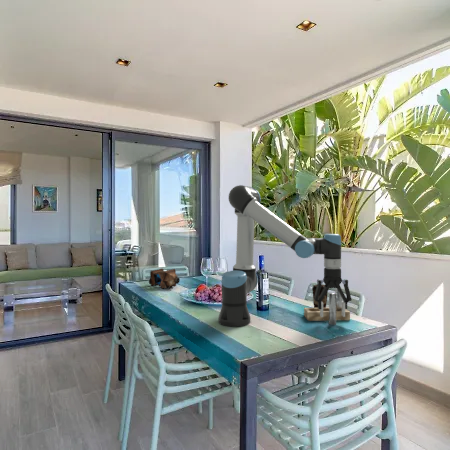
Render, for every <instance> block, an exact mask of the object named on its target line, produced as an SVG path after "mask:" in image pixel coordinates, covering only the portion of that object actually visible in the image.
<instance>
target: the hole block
mask: <svg viewBox="0 0 450 450" xmlns="http://www.w3.org/2000/svg"><path fill="white" fill-rule="evenodd" d="M303 317H305V319H306V320H307V321H308V322H312V321H317V322H319V321H320V322H321V321H329V306H328V307H327V306H326V307H325V308H323V317H321V316H320V309H318V308H314V307H304V308H303ZM350 320H351V311H350V310H348V308H347V309H345V317H343V316H342V311H336V321H350Z"/></svg>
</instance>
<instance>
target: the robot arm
mask: <svg viewBox="0 0 450 450" xmlns="http://www.w3.org/2000/svg"><path fill="white" fill-rule="evenodd" d="M261 201H262V200H261V194H260V192H259V190H257V189H255V188H254V187H252V186H246V185H243V184H242V185H241V184H239V185H236V186H234V187H232V188H231V190H230V191H229V193H228V202H229V204H230V206H231V207H232V208H233V209H234V214H235V215H236V217H237V220H236V221H237V223H236V225H237V226H236V253H235V254H236V255H235V256H236V258H235V263H234V265H233V266H232V270H228V271H226V272H224V273H223V274H222V276H221V308H220V310H219V315H218V323H219V325H222V326H225V327H226V326H227V327H236V328H237V327H243V326H247V325H249V324H250V323H251V314H250V311H249V308H248V306H247V305H248V303H247V299H248V297H247V296H248V294H249V293H251V292H252V291H254V290H255V289H256V287H257V285H258V283H259V276H258V274H257V270H256V269H257V267H256V265H254V244H255V241H254V239H255V238H254V237H255V222H256V223H257V224H259V225H260V226H261V227H262V228H264V229H265V230H267V231H268V232H269V233H270V234H272V235H273V236H275V238H277V239H279V241H281V242H282V243H283V244H284V245H286V246H288V247H289V248H291V250H293V251H294V252H295V255H296V256H297V257H298V258H300V259H301V258H302V259H308V258H311V256H313V255H323V260H324V261H323V267H324V268H323V278H322V279H317V280H316V282H317V284H316V285H317V288H316V292H315V296H314V300H315V301H317V302H318V309H320V316H321V317H323V302H322V300H323V298H324V296H325V295H326V293H327V291H329V289H337V290H338V291H339V293H340V295H341V297H342V316H343V317H345V309H347V310H348V303H349V302H352V297H351V291H350V287H349V280H348V279H346V278H344V279H343V278H342V269H341V268H342V236H341V235H340V234H339V233H325V234H324V236H323V237H321V238H320V237H319V238H317V237H305V236H304V235H303V234H301V233H300V232H298V231H297V230H296V229H294V228H293V227H292V226H290V225H289V224H288V223H286V222H285V221H284V220H282V219H281V218H280V217H278V216H277V215H276V214H274V213H273V212H272V211H270V210H269V209H268V208H267V207H265V206H263V205H262V204H261ZM323 283H324V284H323ZM341 284H343V288H344V291H345V293H344V292H343V289H342V287H341ZM321 285H325V286H324V289H323V291H322V292H321V294H320V296H319V293H320V289H321ZM327 294H328V293H327ZM318 297H319V298H318Z"/></svg>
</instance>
